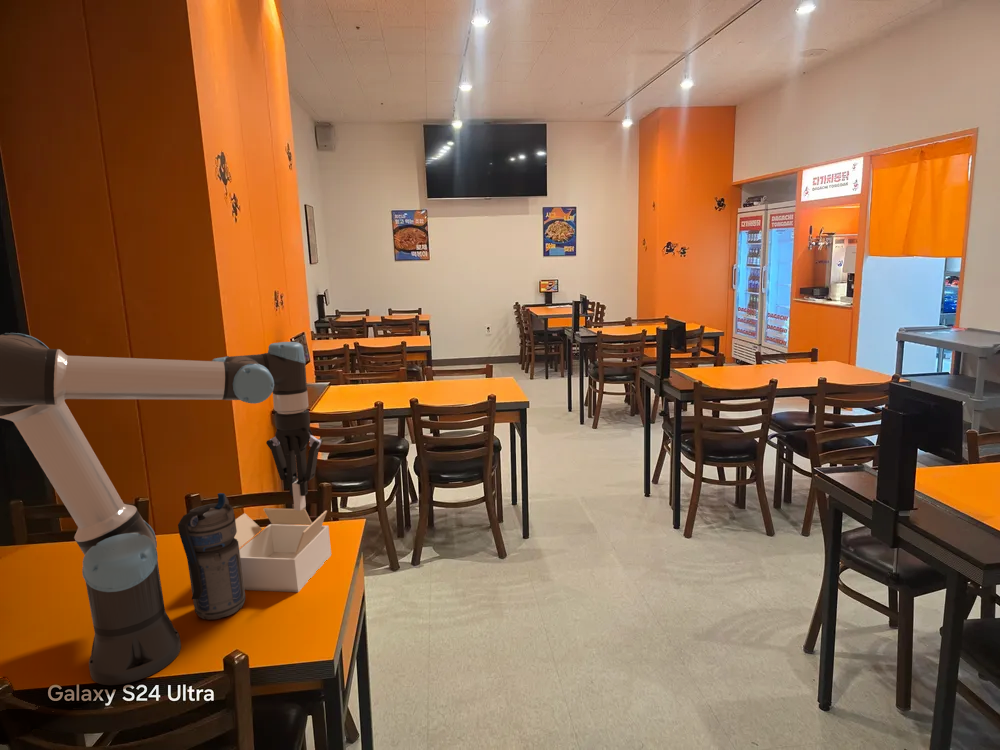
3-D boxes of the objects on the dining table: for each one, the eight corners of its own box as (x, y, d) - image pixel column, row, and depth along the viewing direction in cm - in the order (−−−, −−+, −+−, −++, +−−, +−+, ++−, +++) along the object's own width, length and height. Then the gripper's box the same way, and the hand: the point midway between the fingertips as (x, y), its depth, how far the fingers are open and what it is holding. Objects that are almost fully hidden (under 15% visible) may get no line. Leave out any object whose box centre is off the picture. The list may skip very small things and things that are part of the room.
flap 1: (304, 510, 153) (305, 509, 153) (263, 509, 155) (263, 508, 155) (312, 524, 157) (312, 523, 157) (271, 523, 158) (272, 522, 159)
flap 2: (294, 553, 141) (296, 554, 141) (302, 531, 139) (304, 532, 139) (318, 530, 152) (319, 531, 152) (325, 510, 151) (327, 511, 151)
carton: (298, 592, 141) (292, 539, 138) (217, 588, 144) (210, 536, 142) (331, 555, 158) (326, 507, 156) (259, 552, 162) (253, 505, 159)
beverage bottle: (176, 626, 129) (158, 513, 125) (220, 593, 142) (206, 490, 137) (216, 632, 127) (200, 517, 122) (258, 597, 139) (244, 492, 135)
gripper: (325, 406, 143) (333, 503, 147) (273, 406, 145) (282, 501, 149) (311, 414, 136) (319, 515, 140) (256, 413, 138) (266, 513, 142)
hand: (300, 508), depth 145 cm, fingers closed
